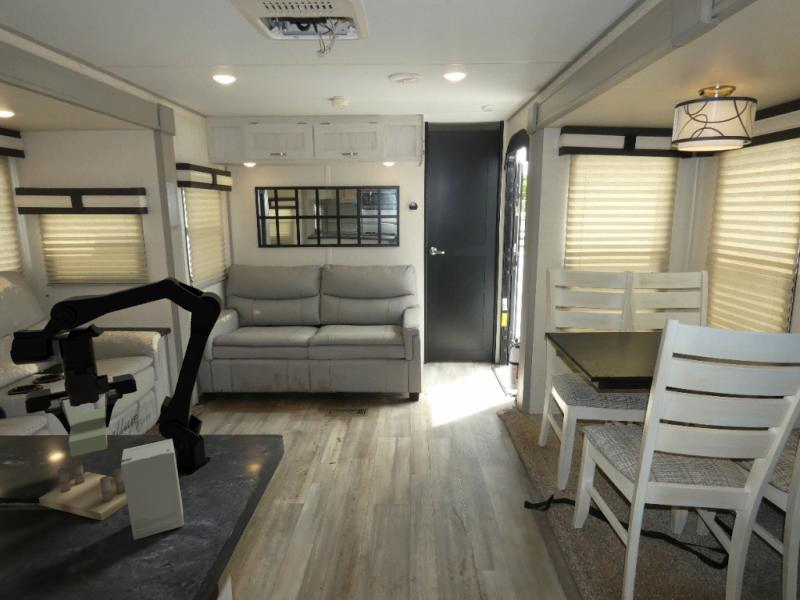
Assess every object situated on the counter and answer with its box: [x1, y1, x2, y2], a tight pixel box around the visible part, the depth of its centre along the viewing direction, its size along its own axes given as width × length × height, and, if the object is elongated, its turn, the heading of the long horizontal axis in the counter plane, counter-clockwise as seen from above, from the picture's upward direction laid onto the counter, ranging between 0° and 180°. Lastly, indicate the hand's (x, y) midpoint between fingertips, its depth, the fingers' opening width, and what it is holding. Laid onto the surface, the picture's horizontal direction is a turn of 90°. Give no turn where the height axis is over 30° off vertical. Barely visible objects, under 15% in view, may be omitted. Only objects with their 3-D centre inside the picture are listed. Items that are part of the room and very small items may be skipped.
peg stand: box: [38, 459, 128, 521], centre depth 94 cm, size 16×10×6 cm, turn 71°
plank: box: [68, 407, 108, 458], centre depth 100 cm, size 16×6×3 cm, turn 32°
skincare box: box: [120, 439, 185, 541], centre depth 85 cm, size 8×6×15 cm
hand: (89, 431), depth 100 cm, fingers closed on plank, 6 cm apart
